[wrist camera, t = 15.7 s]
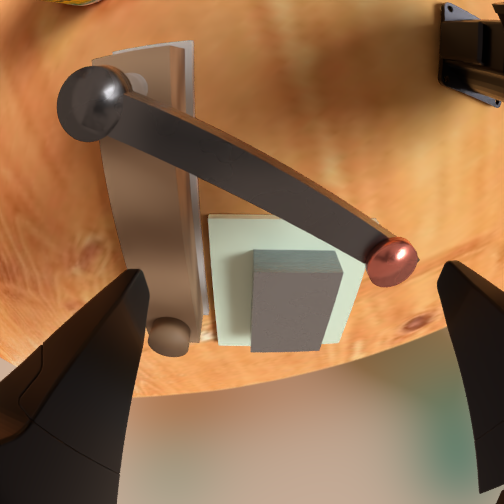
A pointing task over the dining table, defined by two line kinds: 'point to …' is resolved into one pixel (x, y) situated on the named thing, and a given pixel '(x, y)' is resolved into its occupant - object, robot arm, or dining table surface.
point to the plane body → (160, 202)
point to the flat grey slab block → (292, 298)
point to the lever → (227, 167)
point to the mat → (241, 266)
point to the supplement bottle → (75, 2)
